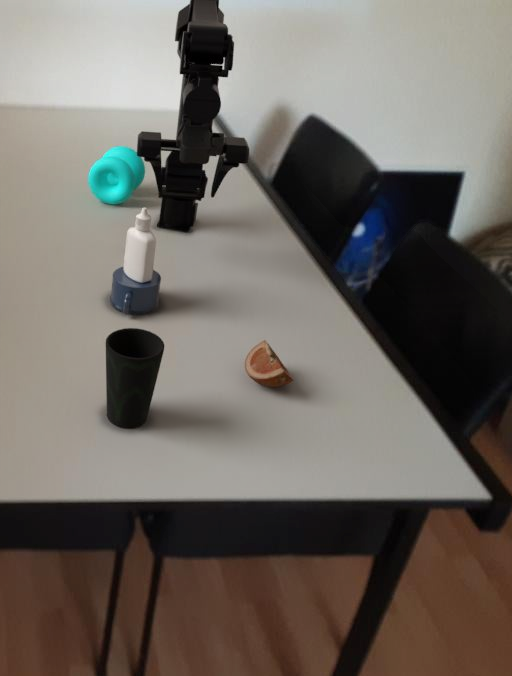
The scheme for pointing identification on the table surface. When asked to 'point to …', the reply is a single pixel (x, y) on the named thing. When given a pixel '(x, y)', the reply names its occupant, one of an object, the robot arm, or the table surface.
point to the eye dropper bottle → (140, 249)
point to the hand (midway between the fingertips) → (185, 195)
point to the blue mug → (134, 293)
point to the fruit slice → (266, 366)
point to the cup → (131, 375)
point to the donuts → (116, 175)
